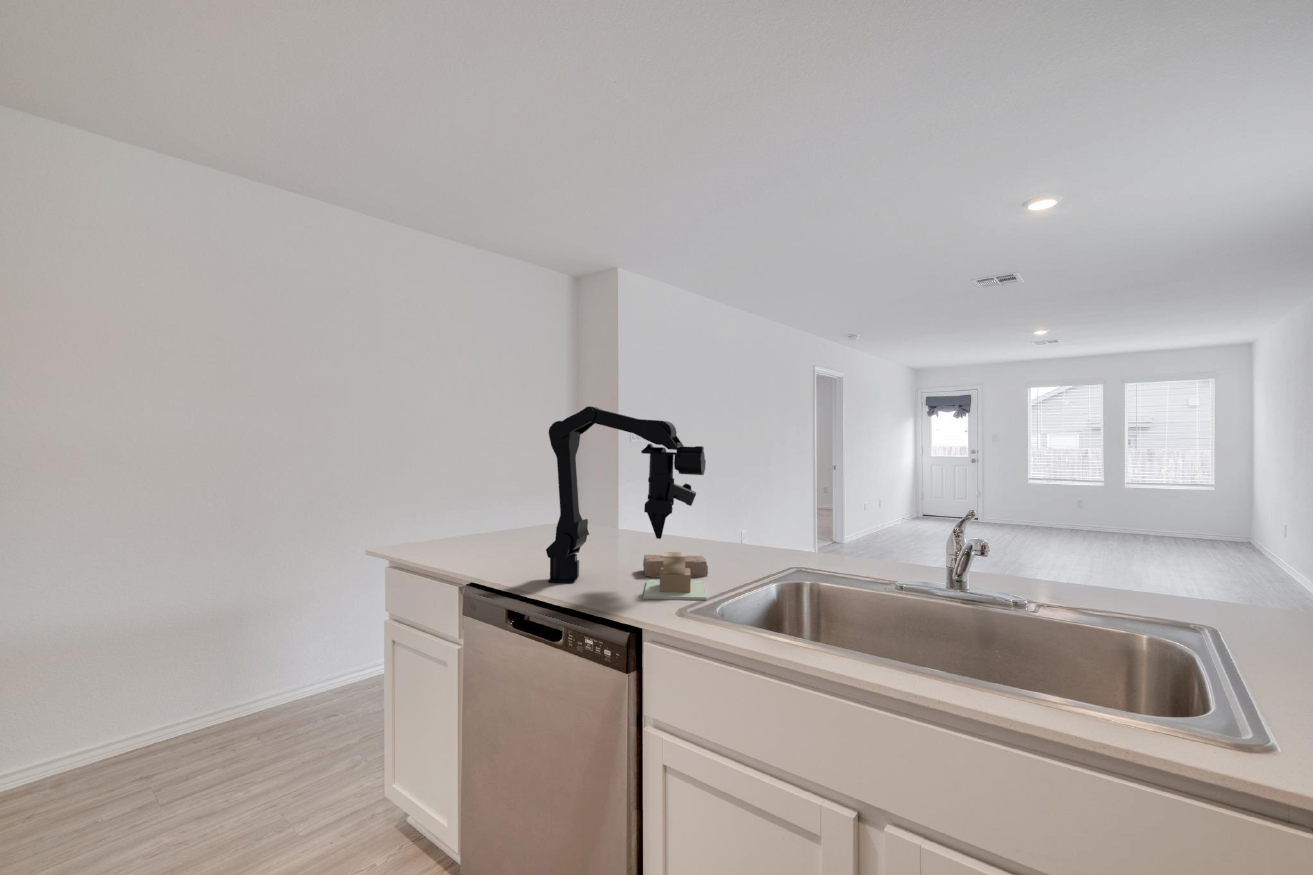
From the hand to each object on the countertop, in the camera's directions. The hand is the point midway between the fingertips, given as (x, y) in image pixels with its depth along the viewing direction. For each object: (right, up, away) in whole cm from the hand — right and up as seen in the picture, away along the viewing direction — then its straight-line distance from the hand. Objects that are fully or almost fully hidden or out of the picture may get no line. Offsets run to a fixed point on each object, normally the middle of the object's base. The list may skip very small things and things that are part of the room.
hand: (658, 538), depth 138 cm
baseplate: (+4, -12, -3) cm, 13 cm away
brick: (+4, -12, +15) cm, 20 cm away
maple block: (+4, -7, -3) cm, 9 cm away
